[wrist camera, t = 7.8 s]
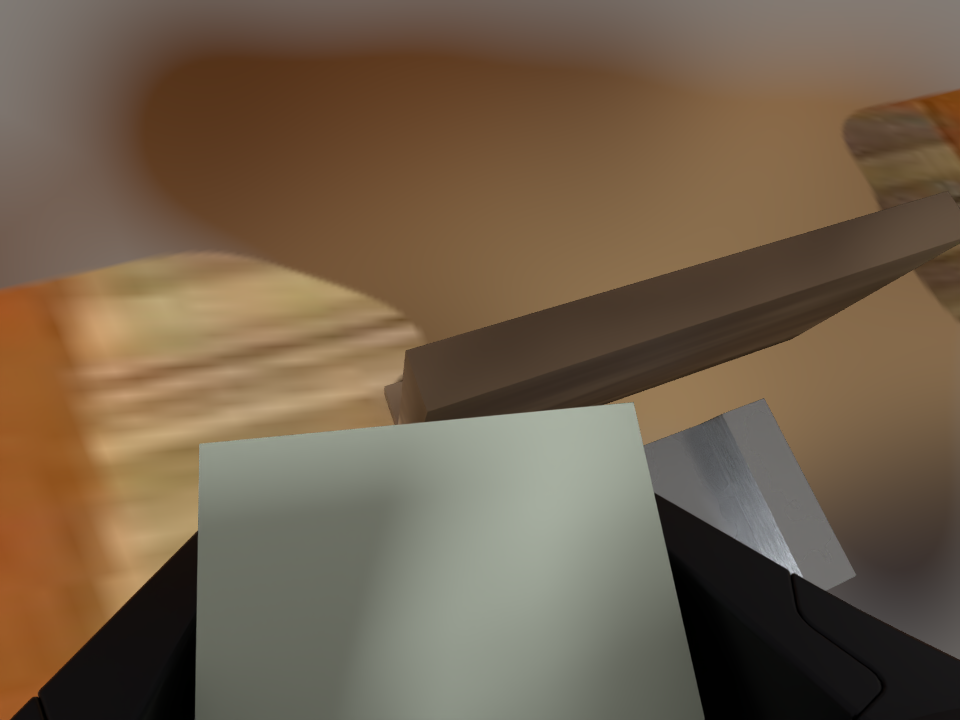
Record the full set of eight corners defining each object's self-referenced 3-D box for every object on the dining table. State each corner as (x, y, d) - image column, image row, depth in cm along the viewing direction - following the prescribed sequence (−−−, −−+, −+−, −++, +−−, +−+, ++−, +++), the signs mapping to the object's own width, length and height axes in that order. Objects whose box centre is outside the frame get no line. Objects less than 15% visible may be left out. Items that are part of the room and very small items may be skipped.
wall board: (791, 339, 27) (976, 233, 18) (410, 472, 22) (427, 411, 14) (757, 278, 28) (920, 150, 19) (384, 393, 23) (385, 292, 15)
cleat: (818, 575, 23) (856, 575, 22) (504, 726, 20) (516, 742, 18) (736, 410, 25) (764, 398, 23) (435, 524, 22) (440, 519, 20)
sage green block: (545, 651, 15) (788, 764, 6) (315, 691, 14) (192, 903, 5) (521, 496, 17) (692, 396, 7) (308, 522, 16) (199, 442, 6)
